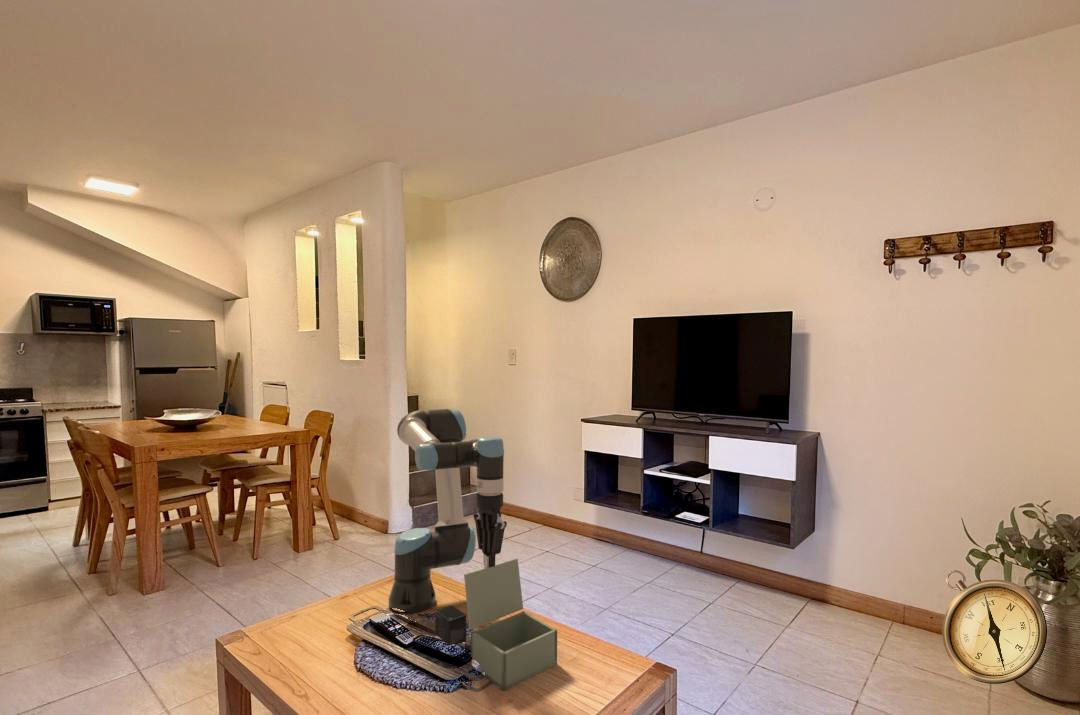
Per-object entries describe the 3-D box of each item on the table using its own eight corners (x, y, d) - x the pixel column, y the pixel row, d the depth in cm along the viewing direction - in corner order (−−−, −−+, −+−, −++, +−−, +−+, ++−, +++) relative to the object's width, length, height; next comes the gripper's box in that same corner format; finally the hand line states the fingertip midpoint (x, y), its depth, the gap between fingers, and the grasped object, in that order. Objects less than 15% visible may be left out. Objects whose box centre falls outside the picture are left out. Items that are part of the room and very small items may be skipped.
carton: (470, 665, 138) (471, 632, 138) (523, 642, 150) (523, 611, 150) (503, 690, 128) (503, 654, 128) (556, 663, 140) (557, 630, 140)
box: (466, 653, 144) (466, 614, 144) (448, 660, 141) (448, 620, 141) (452, 641, 150) (452, 604, 151) (434, 647, 147) (434, 609, 147)
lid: (471, 629, 138) (469, 629, 139) (523, 608, 150) (521, 608, 151) (465, 574, 141) (463, 574, 141) (517, 558, 153) (515, 558, 153)
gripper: (466, 490, 150) (465, 573, 150) (492, 499, 141) (492, 588, 140) (487, 487, 155) (486, 567, 155) (514, 494, 146) (514, 580, 145)
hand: (489, 577), depth 147 cm, fingers closed
